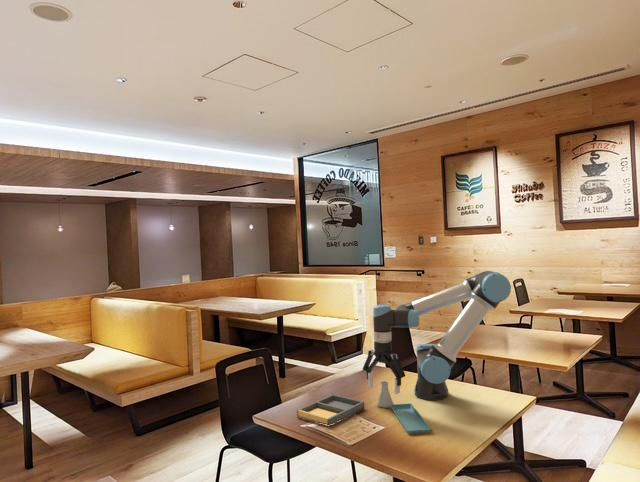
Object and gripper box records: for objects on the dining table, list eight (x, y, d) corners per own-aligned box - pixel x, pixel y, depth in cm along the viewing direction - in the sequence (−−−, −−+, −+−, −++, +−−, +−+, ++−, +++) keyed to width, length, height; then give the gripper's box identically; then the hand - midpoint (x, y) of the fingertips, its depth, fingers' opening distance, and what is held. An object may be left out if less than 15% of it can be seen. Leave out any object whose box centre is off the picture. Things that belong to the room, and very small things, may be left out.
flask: (393, 408, 192) (392, 385, 192) (376, 408, 194) (375, 384, 194) (394, 402, 199) (393, 379, 199) (377, 402, 201) (376, 379, 201)
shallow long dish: (431, 434, 166) (431, 427, 166) (407, 436, 165) (407, 429, 165) (411, 409, 192) (411, 403, 192) (390, 410, 191) (390, 404, 191)
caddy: (364, 408, 193) (364, 401, 193) (329, 427, 175) (328, 419, 176) (333, 401, 204) (332, 394, 204) (297, 417, 187) (296, 410, 187)
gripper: (354, 339, 202) (355, 386, 202) (403, 346, 186) (404, 398, 186) (364, 336, 208) (365, 382, 208) (412, 343, 191) (413, 393, 191)
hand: (383, 390), depth 197 cm, fingers open, 13 cm apart
